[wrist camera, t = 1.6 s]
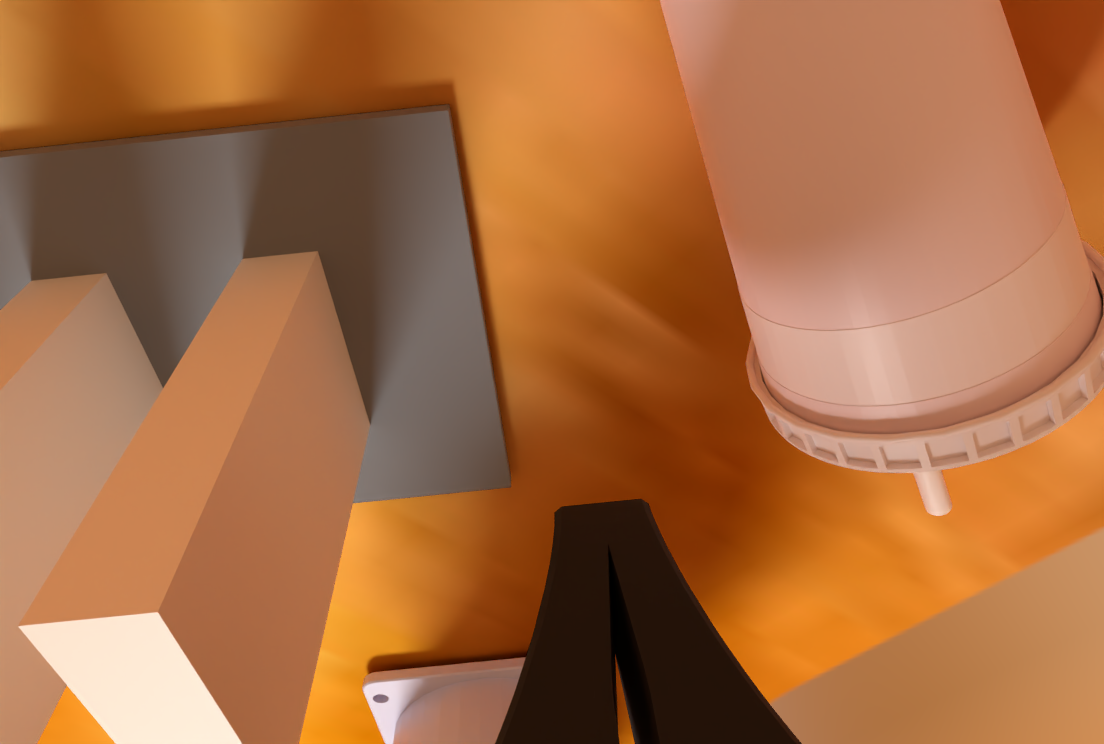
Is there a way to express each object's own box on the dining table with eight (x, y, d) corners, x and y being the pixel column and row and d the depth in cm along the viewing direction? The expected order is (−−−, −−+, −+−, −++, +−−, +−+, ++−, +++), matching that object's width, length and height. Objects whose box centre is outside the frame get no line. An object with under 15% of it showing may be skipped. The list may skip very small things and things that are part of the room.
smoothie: (493, -21, 9) (830, 644, 16) (1143, -404, 6) (1212, 607, 13) (583, -99, 14) (810, 435, 21) (968, -331, 11) (1085, 374, 18)
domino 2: (317, 250, 16) (157, 611, 8) (370, 425, 19) (283, 809, 11) (242, 258, 16) (17, 626, 8) (306, 431, 19) (178, 818, 11)
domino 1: (106, 272, 16) (-235, 651, 8) (190, 443, 19) (-11, 837, 11) (31, 281, 16) (-374, 665, 9) (126, 449, 19) (-115, 847, 11)
